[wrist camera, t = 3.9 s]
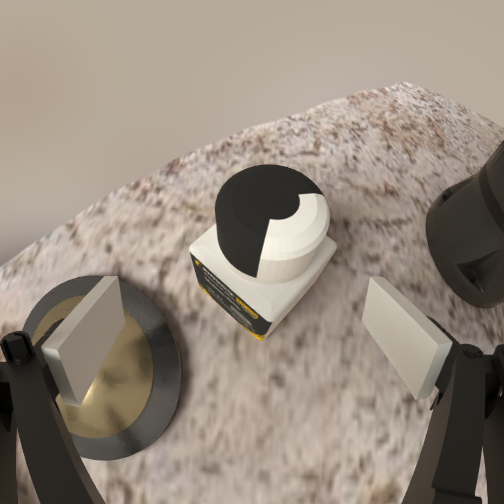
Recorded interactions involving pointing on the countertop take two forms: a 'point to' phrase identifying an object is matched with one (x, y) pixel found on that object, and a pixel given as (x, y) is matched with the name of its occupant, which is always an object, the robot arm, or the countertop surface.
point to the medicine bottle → (264, 245)
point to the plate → (118, 374)
